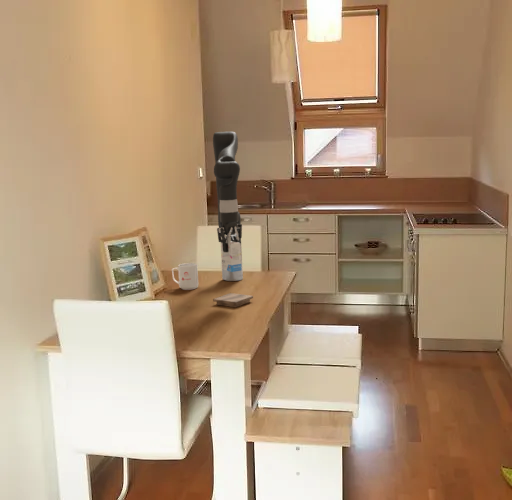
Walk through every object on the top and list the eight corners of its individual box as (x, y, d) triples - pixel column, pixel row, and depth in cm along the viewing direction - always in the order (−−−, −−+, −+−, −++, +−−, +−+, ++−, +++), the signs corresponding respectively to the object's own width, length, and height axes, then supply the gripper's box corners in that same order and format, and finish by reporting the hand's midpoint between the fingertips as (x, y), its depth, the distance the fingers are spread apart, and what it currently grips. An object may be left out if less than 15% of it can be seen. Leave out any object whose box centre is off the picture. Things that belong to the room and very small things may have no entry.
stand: (213, 304, 283) (213, 299, 283) (230, 298, 293) (230, 293, 292) (236, 308, 276) (235, 302, 276) (253, 301, 286) (253, 295, 285)
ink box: (242, 270, 280) (240, 235, 277) (232, 272, 277) (230, 236, 275) (231, 267, 287) (229, 233, 284) (221, 269, 284) (219, 234, 282)
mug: (199, 285, 321) (198, 262, 319) (197, 290, 312) (195, 266, 310) (174, 286, 321) (173, 263, 320) (171, 290, 313) (169, 267, 311)
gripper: (225, 213, 270) (227, 254, 273) (246, 208, 281) (248, 248, 284) (210, 212, 274) (212, 253, 277) (232, 208, 286) (234, 247, 289)
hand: (230, 250), depth 281 cm, fingers closed on ink box, 6 cm apart
